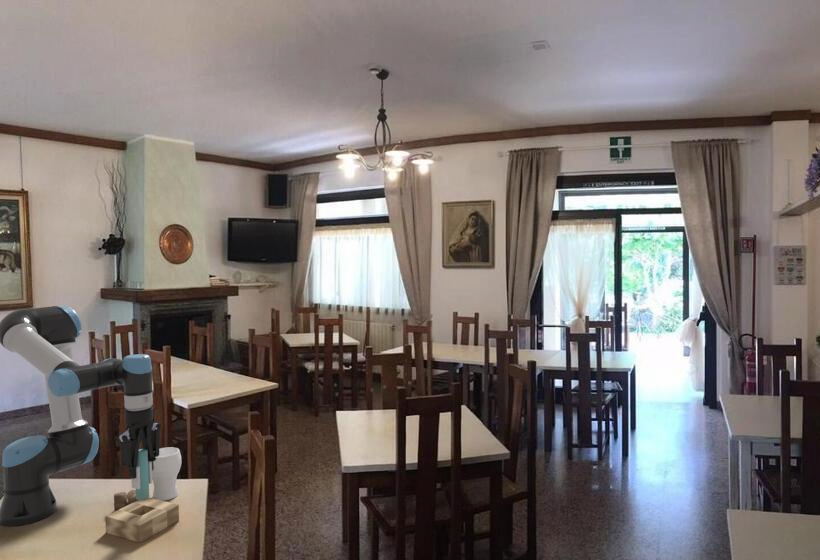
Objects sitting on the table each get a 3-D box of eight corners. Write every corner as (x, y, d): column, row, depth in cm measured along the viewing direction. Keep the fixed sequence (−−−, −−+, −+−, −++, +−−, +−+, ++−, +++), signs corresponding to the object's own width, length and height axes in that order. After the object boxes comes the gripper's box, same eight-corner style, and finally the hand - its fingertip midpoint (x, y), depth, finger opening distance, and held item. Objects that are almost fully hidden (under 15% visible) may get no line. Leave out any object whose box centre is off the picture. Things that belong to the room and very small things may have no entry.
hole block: (105, 532, 163) (105, 516, 163) (146, 512, 176) (145, 496, 176) (139, 542, 158) (139, 525, 157) (179, 520, 170) (178, 504, 170)
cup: (169, 504, 181) (168, 459, 181) (140, 501, 184) (139, 456, 183) (188, 490, 192) (187, 447, 191) (161, 488, 194) (160, 445, 193)
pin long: (133, 498, 165) (131, 452, 165) (143, 493, 169) (141, 448, 168) (142, 500, 164) (140, 453, 163) (152, 495, 167) (150, 449, 166)
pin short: (111, 511, 177) (111, 495, 177) (121, 506, 180) (121, 491, 180) (119, 513, 176) (119, 497, 175) (129, 508, 179) (129, 493, 179)
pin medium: (139, 511, 179) (135, 501, 185) (144, 499, 179) (140, 491, 186) (127, 508, 177) (124, 499, 183) (133, 497, 178) (129, 488, 184)
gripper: (123, 416, 156) (126, 498, 157) (171, 401, 171) (173, 476, 172) (104, 413, 159) (108, 494, 160) (153, 399, 174) (156, 473, 175)
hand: (142, 485), depth 166 cm, fingers closed on pin long, 3 cm apart
